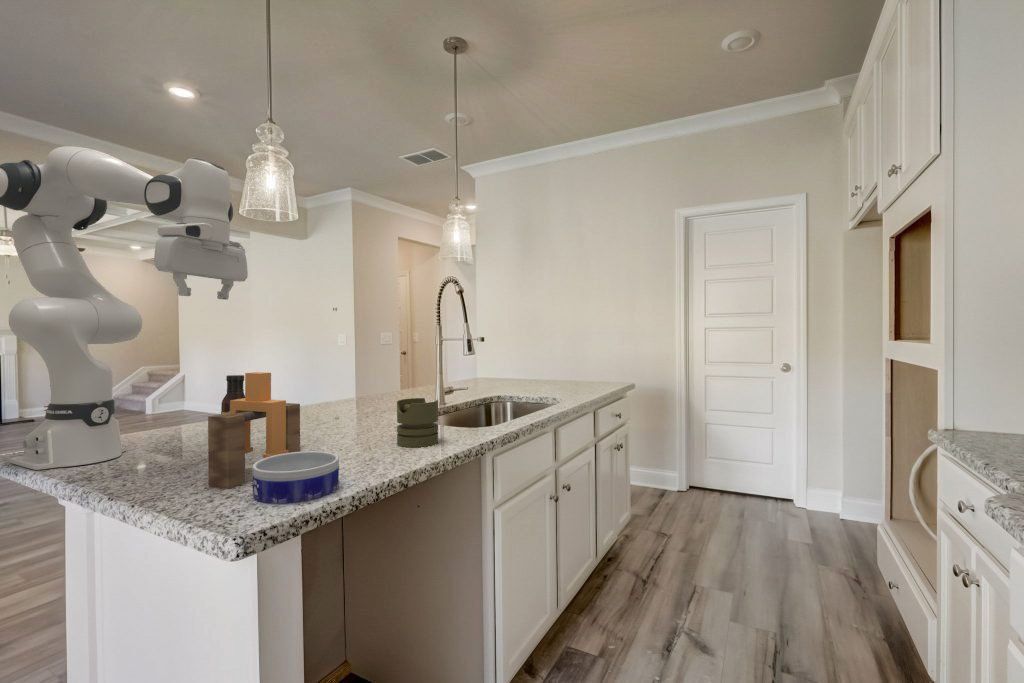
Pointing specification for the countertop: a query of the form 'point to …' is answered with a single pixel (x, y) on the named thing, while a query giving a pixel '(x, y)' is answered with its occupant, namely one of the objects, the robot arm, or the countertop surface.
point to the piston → (417, 423)
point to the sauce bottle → (232, 391)
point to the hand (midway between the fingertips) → (204, 297)
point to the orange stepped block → (261, 401)
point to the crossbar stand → (240, 444)
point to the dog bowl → (295, 477)
